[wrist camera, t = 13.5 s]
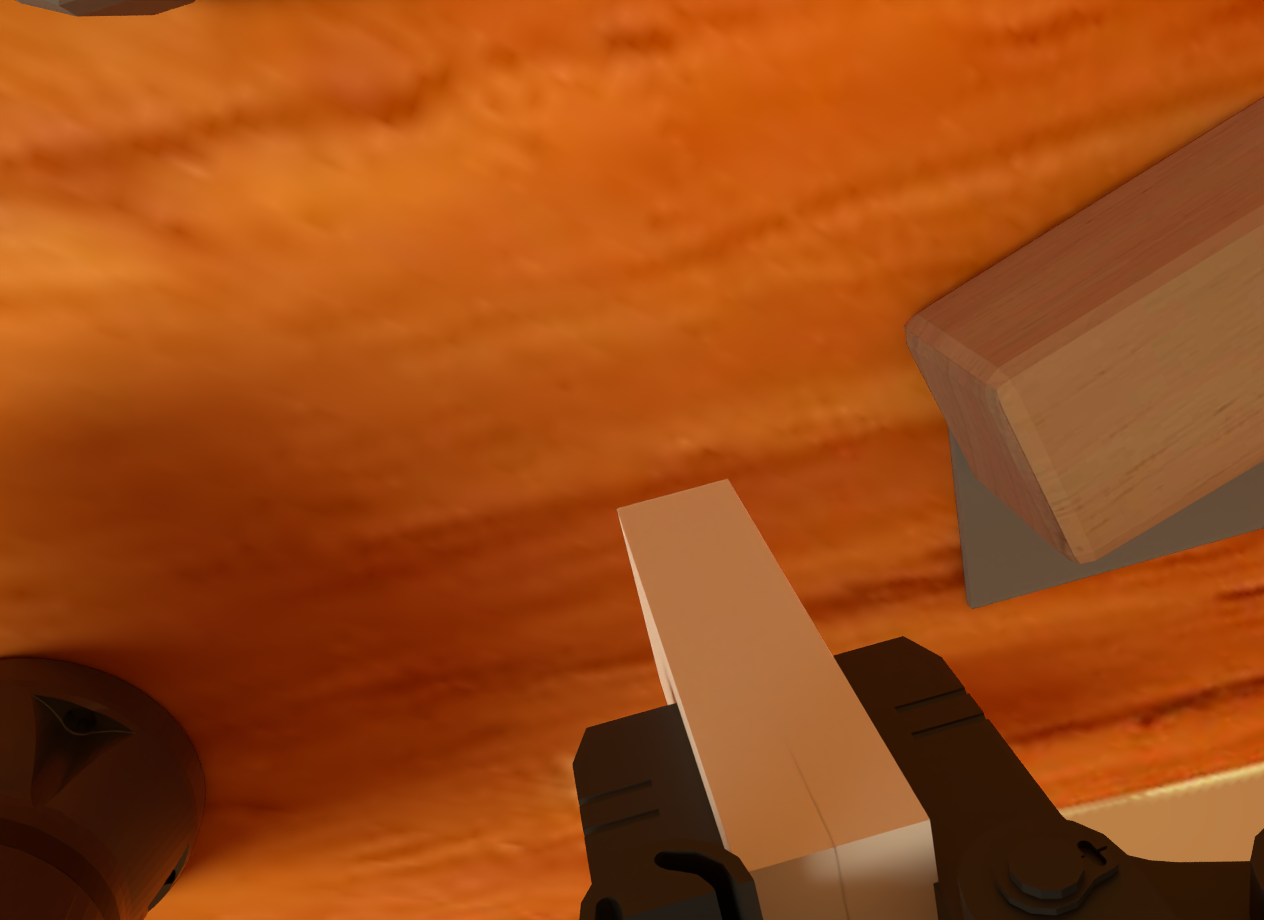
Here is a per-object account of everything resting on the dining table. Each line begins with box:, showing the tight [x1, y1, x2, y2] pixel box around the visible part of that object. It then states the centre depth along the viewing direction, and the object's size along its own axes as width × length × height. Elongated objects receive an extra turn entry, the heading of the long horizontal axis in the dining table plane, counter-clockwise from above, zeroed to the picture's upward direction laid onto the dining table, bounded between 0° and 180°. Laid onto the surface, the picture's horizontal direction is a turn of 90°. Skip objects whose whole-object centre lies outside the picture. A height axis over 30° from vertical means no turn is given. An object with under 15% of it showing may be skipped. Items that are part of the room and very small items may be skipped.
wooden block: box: [904, 97, 1264, 564], centre depth 47 cm, size 10×10×20 cm
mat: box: [948, 426, 1264, 609], centre depth 54 cm, size 19×16×1 cm
